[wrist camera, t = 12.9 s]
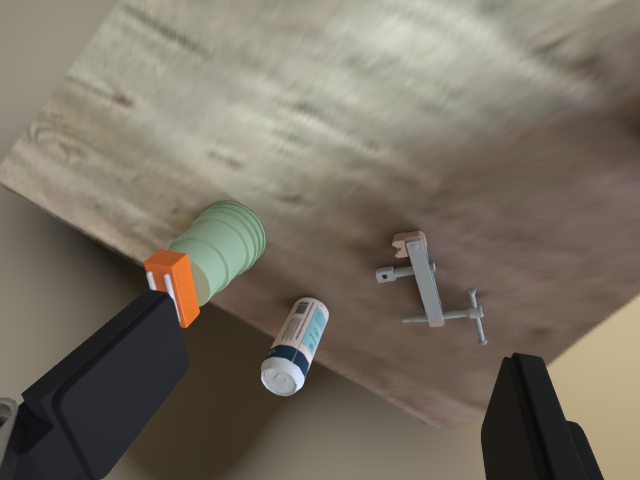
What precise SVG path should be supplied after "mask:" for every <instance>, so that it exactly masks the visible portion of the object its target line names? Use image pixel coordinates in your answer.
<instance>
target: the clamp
mask: <svg viewBox="0 0 640 480" xmlns="http://www.w3.org/2000/svg"><path fill="white" fill-rule="evenodd" d="M392 246H394V247H396V248H397V249H396V255H395V257H397V258H402V257H408V255H409V256H410V260H411V263H412V266H407V267H401V268H396V269H394V268H393V266H390V267H384V268H378V269H377V271H376V278H377V280H378V282H379V283H382V282H389V281H395V280H396V277H401V276H408V275H414V274H415V277H416V280H417V284H418V287H419V291H420V294H421V297H422V301H423V304H424V308H425V311H426V314H422V315H414V316H411V317H406V318H402V321H403V322H421V321H429V325H430V327H439V326H444V320H443V319H449V318H458V317H467V316H470V319H471V318H475V322H476V327H477V331H478V335H479V339H478V343H479V344H481V345H484V344H486V343H487V340H486V339H485V338H484V335H483V331H482V326H481V322H480V317H483V312H482V307H481V306H480V305H478V306H477V304H476V300H475V295H474V294H475V293H476V290H475V289H473V288H470V289H467V291H466V293H467V294H469V296H470V301H471V305H472V306H470V307H468V309H465V310H456V311H448V312H443V309H442V306H441V302H440V298H439V295H438V291H437V287H436V284H435V280H434V276H433V272H435V271H436V270H435V264H434V262H433V261H429V258H428V254H427V250H426V246H427V242H426V239H425V235H424V233H423V232H422V231H420V230H418V231H413V232H409V233H405V232H402V233H398V234H395V235H394V236H393V241H392Z"/></svg>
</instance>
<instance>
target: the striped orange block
mask: <svg viewBox="0 0 640 480" xmlns="http://www.w3.org/2000/svg"><path fill="white" fill-rule="evenodd" d="M144 266H145V269H146V275H147V278H148V282H149V286H150V289H152V290H158V291H164V292H168V293H169V294H170V296H171V298H173V299H174V302H175V306H176V310H177V314H178V318H179V322H180V327H184V328H187V327H188V326H189V325H190V323H191V322H192V321H193V320H194V319H195V318H196V317H197V316H198V314H199V313H200V311H199V306H198V301H197V296H196V291H195V287H194V282H193V277H192V272H191V267H190V262H189V257H188V254H187V253H180V252H173V251H165V250H160V251H158V252H157V253H155V254H154V255H153V256H151V257H150V258H149V259H147V260H146V261H144Z"/></svg>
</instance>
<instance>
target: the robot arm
mask: <svg viewBox="0 0 640 480" xmlns="http://www.w3.org/2000/svg"><path fill="white" fill-rule="evenodd" d="M188 366H189V359H188V355H187V351H186V347H185V343H184V339H183V335H182V331H181V327H180V322H179V318H178V314H177V310H176V306H175V302H174V299H173V298H171V296H170V294H169V293H168V292H164V291H158V290H152V289H150V290H147V291H145V292H144V293H142V294H141V295H140V296H139V297H138V298H136V299H135V300H134V301H133V302H131V303H130V304H129V305H128V306H127V307H125V308H124V309H123V310H122V311H121V312H119V313H118V314H117V315H116V316H115V317H113V318H112V319H111V320H110V321H109V322H108V323H106V324H105V325H104V326H103V327H102V328H100V329H99V330H98V331H97V332H96V333H94V334H93V335H92V336H91V337H89V338H88V339H87V340H86V341H85V342H83V343H82V344H81V345H80V346H78V347H77V348H76V349H75V350H74V351H72V352H71V353H70V354H69V355H68V356H66V357H65V358H64V359H63V360H62V361H60V362H59V363H58V364H57V365H56V366H54V367H53V368H52V369H51V370H50V371H48V372H47V373H46V374H45V375H44V376H42V377H41V378H40V379H39V380H38V381H36V382H35V383H34V384H33V385H31V386H30V387H29V388H28V389H27V390H25V391H24V392H23V393H22V394H21V395H22V397H23V399H24V400H25V401H24V402H23V403H22V404H20V405H19V406H18V404H17V403H16V401H15V400H13V399H10V398H0V480H100V479H103V478H104V477H105V476H107V474H108V473H109V472H110V471H111V469H112V468H113V467H114V466H115V464H116V463H117V462H118V460H119V459H120V458H121V456H122V455H123V454H124V452H125V451H126V450H127V449H128V447H129V446H130V445H131V443H132V442H133V441H134V440H135V438H136V437H137V436H138V434H139V433H140V432H141V430H142V429H143V428H144V426H145V425H146V424H147V423H148V421H149V420H150V419H151V417H152V416H153V415H154V413H155V412H156V411H157V410H158V408H159V407H160V406H161V404H162V403H163V402H164V400H165V399H166V398H167V396H168V395H169V394H170V392H171V391H172V390H173V389H174V387H175V386H176V385H177V383H178V382H179V381H180V379H181V378H182V377H183V376H184V374H185V373H186V371H187V369H188ZM481 444H482V451H483V459H484V467H485V474H486V480H604V479H603V476H602V474H601V471H600V469H599V466H598V464H597V462H596V459H595V457H594V455H593V452H592V449H591V447H590V445H589V442H588V440H587V437H586V435H585V433H584V431H583V429H582V428H581V427H580V426H579V425H578V423H575V422H571V421H566V419H565V417H564V414H563V411H562V409H561V406H560V403H559V401H558V398H557V395H556V393H555V390H554V387H553V385H552V382H551V379H550V377H549V374H548V371H547V369H546V366H545V363H544V361H543V359H542V358H541V357H538V356H532V355H526V354H520V353H513V355H512V357H511V358H508V357H504V359H503V361H502V364H501V367H500V370H499V374H498V377H497V380H496V383H495V386H494V390H493V393H492V396H491V399H490V402H489V405H488V409H487V412H486V415H485V418H484V421H483V424H482V428H481Z"/></svg>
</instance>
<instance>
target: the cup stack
mask: <svg viewBox="0 0 640 480" xmlns="http://www.w3.org/2000/svg"><path fill="white" fill-rule="evenodd" d="M265 244H266V236H265V231H264V228H263V226H262V224H261V222H260V220H259V219H258V218H257V216H256V215H255V214H254V213H253V212H252V211H251V210H249V209H248V208H247V207H245V206H243V205H241V204H239V203H236V202H231V201H222V202H218V203H215V204H214V205H212V206H211V207H209V208H208V209H206V210H205V211H203V212H202V213H200V214H199V215H198V216H197V217H196V218H195V219H194V221H193V223H192V224H191V225H190V227H189V229H188V230H187V231H186V232H185V233H183V234H182V235H181V236H179V237H178V238H176V239H175V240H174V241H173V242H172V244H171V245H170V248H169V249H168V250H167V251H173V252H180V253H187V254H188V257H189V262H190V267H191V272H192V277H193V282H194V287H195V291H196V296H197V301H198V306H199V307H200V306H202V305H204V304H205V303H206V302H207V301H208V300H209V299H210V298H211V297H212V296H213V295H214V293H218V292H220V291H221V290H223V289H224V288H225V287H226V286H227V285H228V283H229V282H230V281H231V280H232V279H233V278H234V277H235V276H237V275H239V274H241V273H243V272H245V271H247V270H248V269H249V268H250V267H251V266H252V265H253V264H254V263H255V261H256V260H257V259H258V258H259V257H260V256H261V254H262V253H263V251H264V248H265Z"/></svg>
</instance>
